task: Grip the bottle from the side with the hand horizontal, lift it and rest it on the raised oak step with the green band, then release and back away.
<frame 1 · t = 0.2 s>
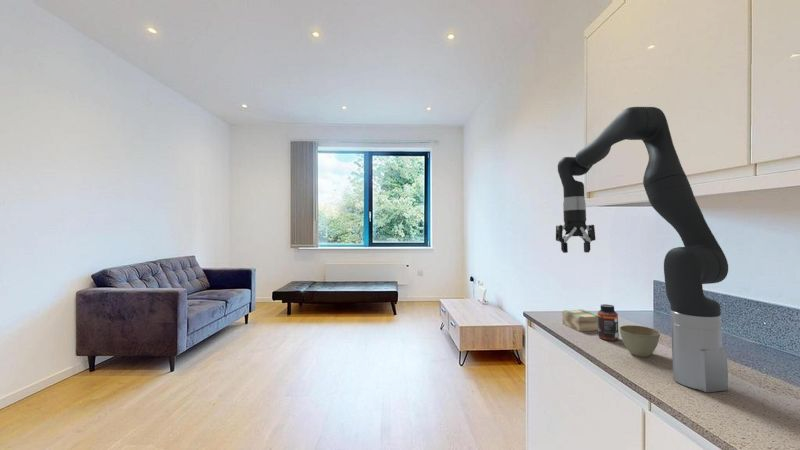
hand: (576, 252, 126), 29 cm above the worktop, tool pointing down, fingers open, 8 cm apart
flower pot: (640, 354, 101), on the worktop
supplement bottle: (608, 339, 115), on the worktop
step: (581, 326, 129), on the worktop
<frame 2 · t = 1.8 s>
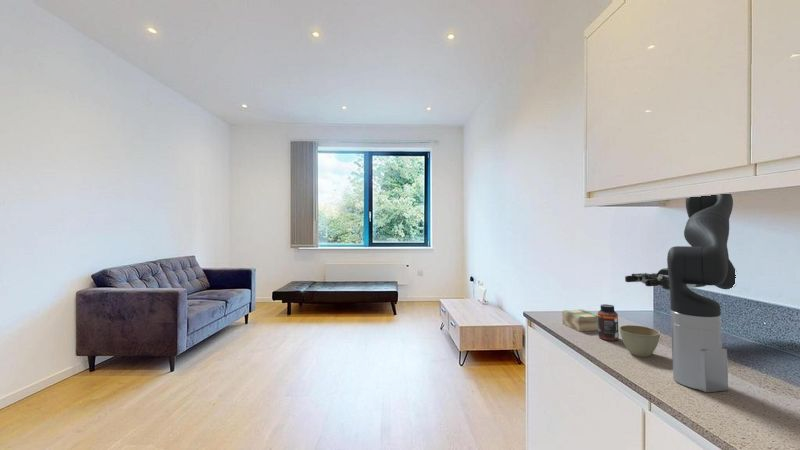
hand: (635, 281, 117), 19 cm above the worktop, tool horizontal, fingers open, 8 cm apart
nothing on the worktop moved.
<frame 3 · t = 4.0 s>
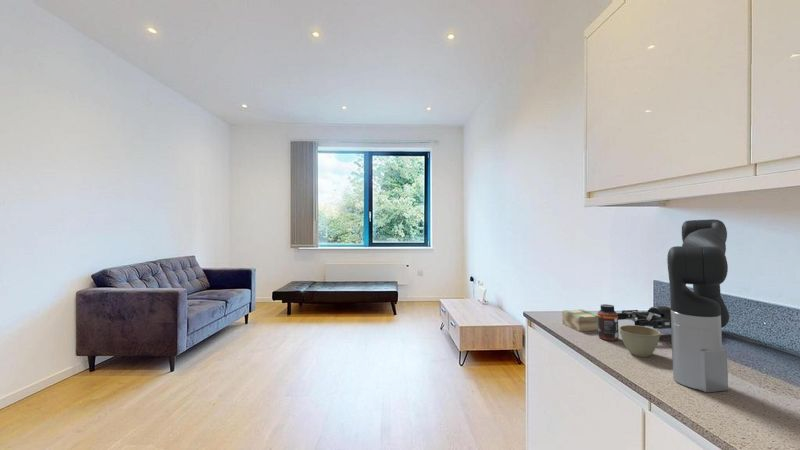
hand: (625, 319, 116), 6 cm above the worktop, tool horizontal, fingers open, 8 cm apart
nothing on the worktop moved.
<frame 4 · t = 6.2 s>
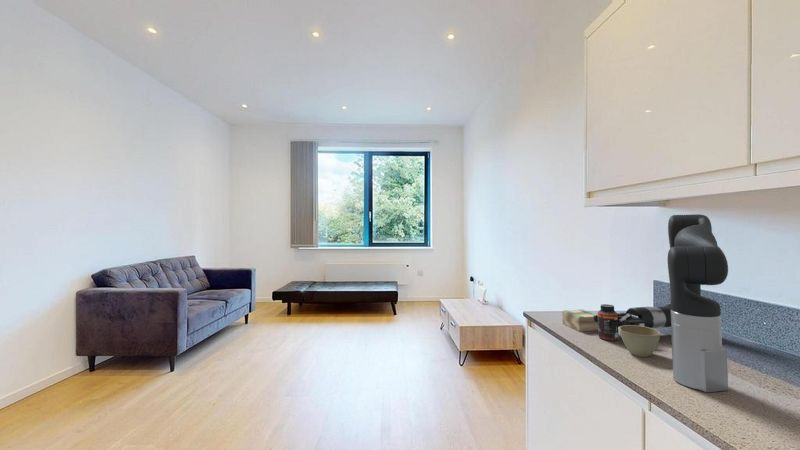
hand: (601, 321, 115), 6 cm above the worktop, tool horizontal, fingers closed on supplement bottle, 6 cm apart
supplement bottle: (608, 339, 115), on the worktop, touching gripper
everything else where it was.
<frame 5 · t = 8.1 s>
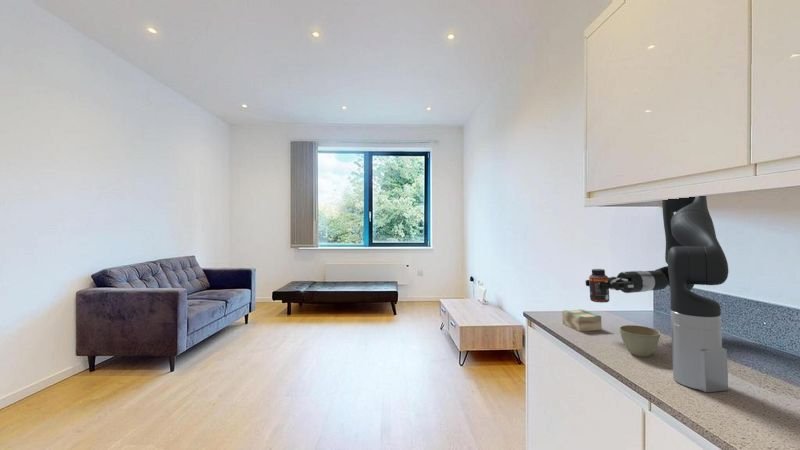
hand: (592, 284, 119), 18 cm above the worktop, tool horizontal, fingers closed on supplement bottle, 6 cm apart
supplement bottle: (599, 301, 120), point 12 cm above the worktop, touching gripper
everything else where it was.
when the fingers open (12 cm above the worktop, at t = 10.3 s): supplement bottle stays where it is, resting on step.
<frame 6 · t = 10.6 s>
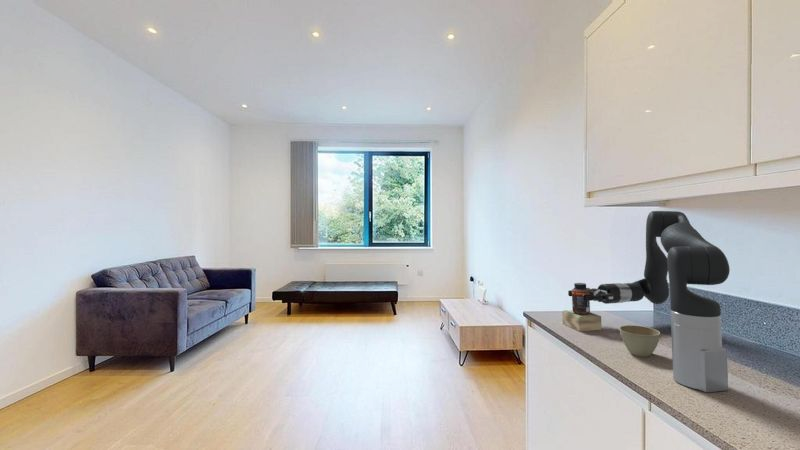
hand: (575, 295, 129), 12 cm above the worktop, tool horizontal, fingers open, 8 cm apart
supplement bottle: (581, 313, 129), point 5 cm above the worktop, touching step
everything else where it was.
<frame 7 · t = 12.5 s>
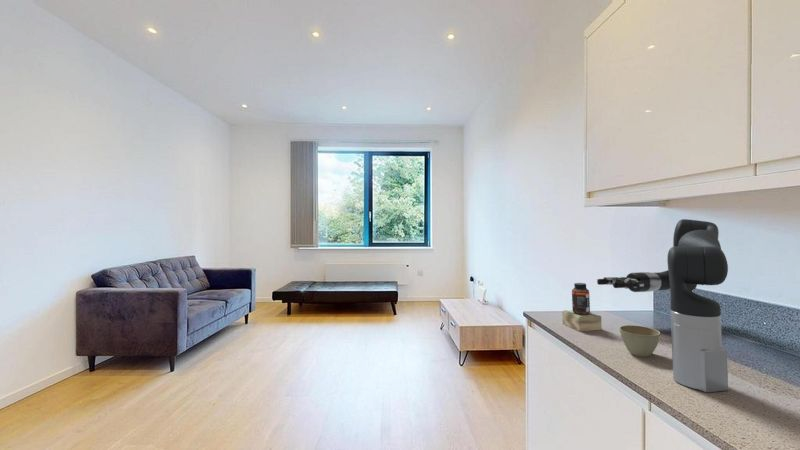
hand: (605, 283, 130), 16 cm above the worktop, tool horizontal, fingers open, 8 cm apart
nothing on the worktop moved.
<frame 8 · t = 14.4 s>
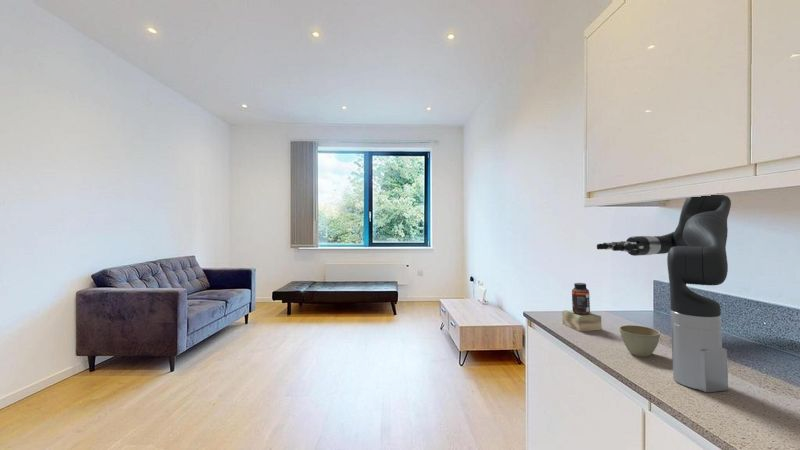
hand: (605, 247, 131), 30 cm above the worktop, tool horizontal, fingers open, 8 cm apart
nothing on the worktop moved.
at the end: supplement bottle inside the target area on the step (0.1 cm from its centre), point 5.0 cm above the step's base; supplement bottle tilted 0°; the gripper is holding nothing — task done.
